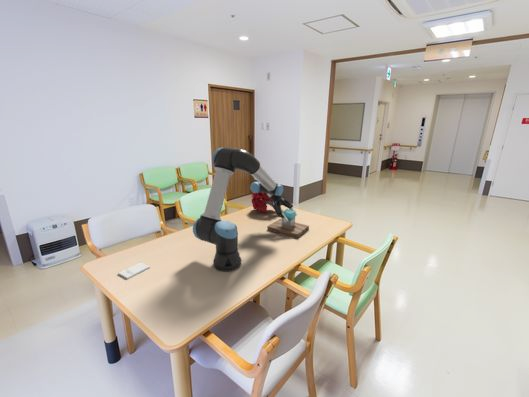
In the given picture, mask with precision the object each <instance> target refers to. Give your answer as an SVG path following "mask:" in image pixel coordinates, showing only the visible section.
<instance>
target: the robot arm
mask: <svg viewBox="0 0 529 397" xmlns="http://www.w3.org/2000/svg"><path fill="white" fill-rule="evenodd" d="M211 157H212V158H211V161H212V164H213V169H214V171H215V172H214V177H213V180H212V184H211V188H210V191H209V194H208V197H207V202H206V206H205V208H204V212H203V213H202V214H200V217H199V218H196V220H195V221H194V223H193V226H192V233H193V235H194V237H195V238H197V239H198V240H200V241H203V242H207V243H209V244H213V245H215V255H214V258H213V264H212V266H213V268H214V269H216V270H218V271H219V272H220V271H221V272H232V271H235V270H237V269H238V268H240V267H242V258H241V256H240V252H239V248H238V247H239V246H238V243H239V242H238V241H239V240H238V237H239V236H238V235H239V232H238V231H239V230H238V227H237V225H236V224H235V223H234V222H232V221H229V220H222V219H221V217H220V215H221V212H222V209H223V204H224V200H225V197H226V194H227V189H228V187H229V186H228V185H229V182H230V179H231V176H232V175H234V174H235V170H238V171H242V172H245V173H246V174H248V175H251V176H252V177H253V178H254V179H255V180H256V181H254V182H251V184H250V187H249V188H250V191H251V192H252V194H253V193H258V192H261V193H266V194H267V195H268V196H269V197H270V199H271V200H272V202H273V203H272V204H273V206H274V208H273V210H274V209H275V210H274V211H275V213H276V214H275V215H277V216H279V217H280V219H283V220H284V221H285V223H286V222H287V221H288V219H287V218H286V216H285V215H284V214H283V213H282V211H281V209H282V206H284V207H285V208H287V209H288V210H293V211H295V209H294V208H293V207H294V204H293V203H291V202H290V201H288V199H286V198H285V197H284V196H283V197H282V195H283V193H284V185H282V184H279V183H277V182H276V181H275V180H274V179H273V178H272V177H271V176H270V174H268V172H267V171H266V170H265V169H264V168H263V167H262V166H261V163H260V161H259V160H258V159H257V158H256V156H254V155H253V154H251V152H249V151H247V150H246V149H242V148H235V147H218V148H217V149H216V150H215V151H214V152H213V154H212V156H211ZM297 216H298V213H297V212H296V213H295V217H297Z"/></svg>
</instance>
